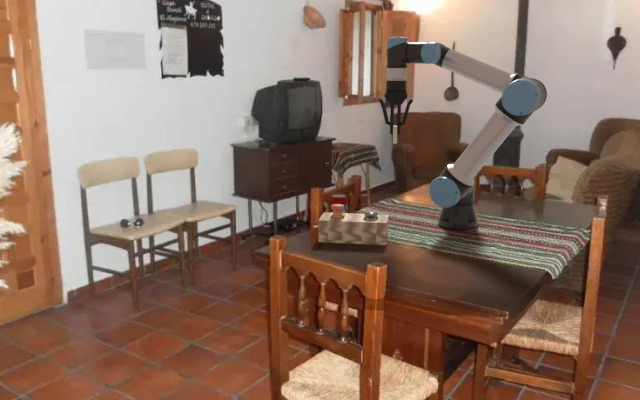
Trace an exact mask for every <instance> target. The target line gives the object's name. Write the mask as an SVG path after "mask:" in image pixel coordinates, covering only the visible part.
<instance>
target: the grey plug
mask: <svg viewBox="0 0 640 400" xmlns="http://www.w3.org/2000/svg"><path fill="white" fill-rule="evenodd" d="M363 214H364V216H365V217H366V220H376V217H377V214H378V212H377V210H375V211H374V210H367V211H364V213H363Z"/></svg>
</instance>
